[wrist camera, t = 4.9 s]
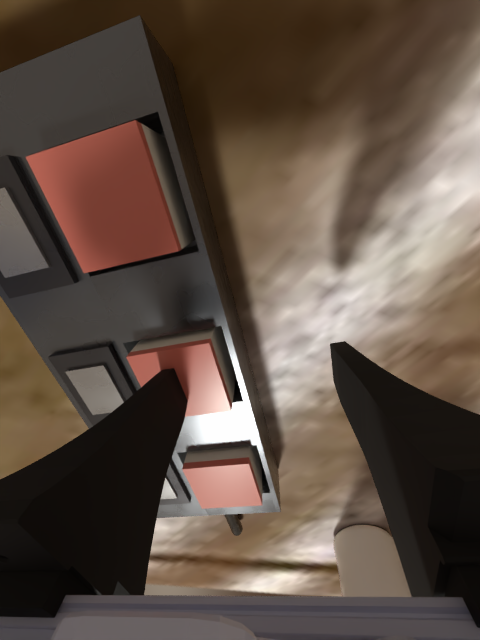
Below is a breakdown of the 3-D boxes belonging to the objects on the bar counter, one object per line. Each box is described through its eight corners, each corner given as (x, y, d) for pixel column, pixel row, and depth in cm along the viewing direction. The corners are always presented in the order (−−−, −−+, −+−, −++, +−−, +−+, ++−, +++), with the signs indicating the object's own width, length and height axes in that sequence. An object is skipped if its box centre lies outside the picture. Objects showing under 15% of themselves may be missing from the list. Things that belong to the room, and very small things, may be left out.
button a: (209, 467, 19) (201, 508, 17) (193, 430, 18) (182, 469, 15) (262, 463, 18) (262, 505, 16) (250, 423, 17) (248, 463, 14)
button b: (173, 384, 16) (157, 419, 13) (149, 328, 14) (126, 356, 12) (236, 375, 15) (231, 411, 13) (218, 315, 14) (208, 343, 11)
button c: (119, 257, 13) (83, 273, 10) (79, 165, 11) (25, 156, 8) (195, 239, 12) (178, 251, 9) (166, 138, 10) (135, 119, 8)
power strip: (187, 523, 25) (177, 570, 22) (-30, 137, 12) (-135, 117, 9) (291, 519, 23) (295, 568, 20) (172, 63, 10) (133, 4, 7)
